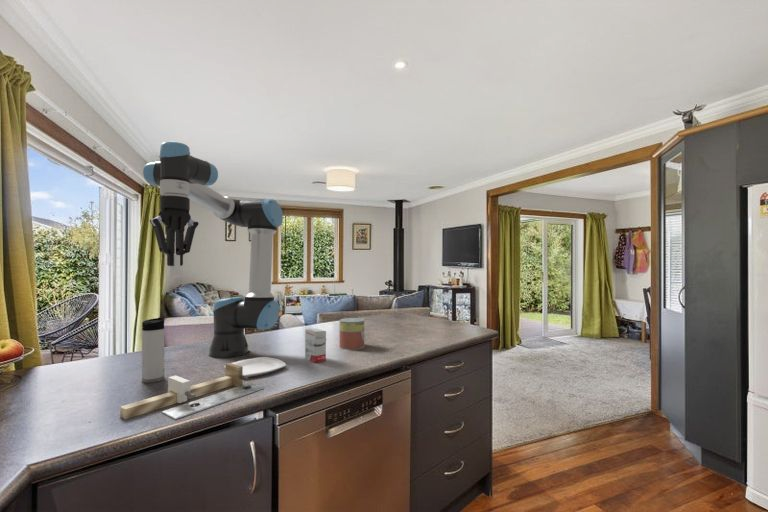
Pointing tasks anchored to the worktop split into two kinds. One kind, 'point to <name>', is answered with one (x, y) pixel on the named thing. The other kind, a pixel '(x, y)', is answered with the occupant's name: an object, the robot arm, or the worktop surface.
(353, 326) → the canned food
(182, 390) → the slider
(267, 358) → the plate
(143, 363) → the travel mug
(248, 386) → the hole plate
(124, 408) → the beam
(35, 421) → the worktop surface
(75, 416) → the worktop surface
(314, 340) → the ink box
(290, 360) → the worktop surface
